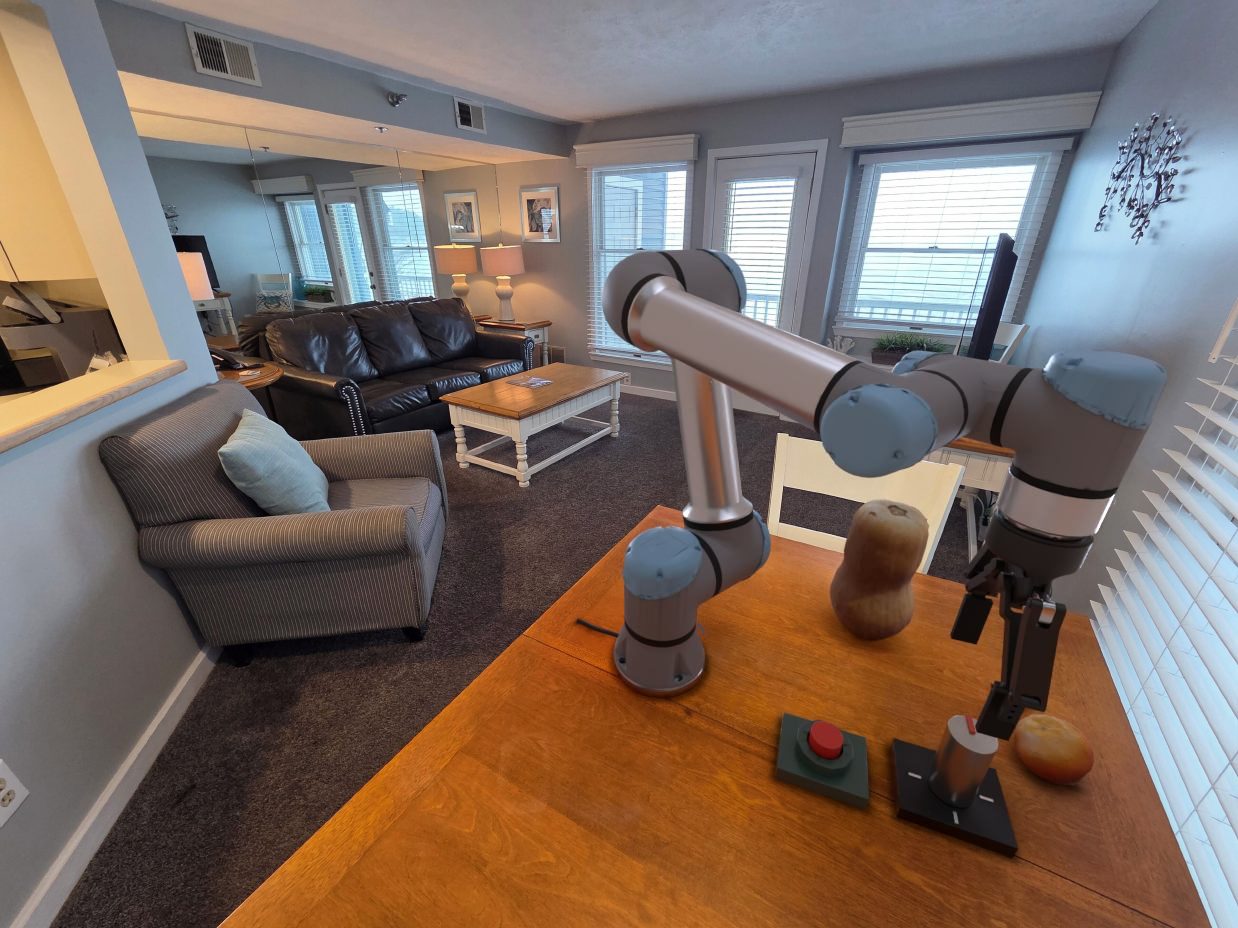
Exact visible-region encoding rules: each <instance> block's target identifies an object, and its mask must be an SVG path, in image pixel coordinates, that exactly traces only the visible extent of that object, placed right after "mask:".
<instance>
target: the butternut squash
mask: <svg viewBox="0 0 1238 928" xmlns="http://www.w3.org/2000/svg"><path fill="white" fill-rule="evenodd" d="M929 528H930V524H929V523H928V520H927V517H926V516H925V515H924V514H923V513H922V511H921V510H920V509H919V508H916V507H915V506H913V505H909V504H908V503H907V504H906V503H903V502H900V501H894V500H890V499H879V498H877V499H872V500H870V501H866V502H865V503H864V504H862V505H861V506H860V507H859V508H858V509H857V510H856V511H855V512H854V514H853V518H852V523H851V525H850V528H849V531H848V534H847V537H846V540H845V543H844V547H843V560H842V561H841V563H840V565H839V566H838V567H837V568H836V571H835V573H834V575H833V578H832V580H831V583H830V586H829V597H830V598H829V599H830V602H831V606H832V609H833V612H834V614H835V616H836V617H837V619H838V621H839V622H840V624H841V625H842V626H843V627H844V628H845V629H846V630H847V631H848V632H849V633H850V634H852V635H853V636H854V637H856V638H858V639H860V640H861V641H867V642H874V641H880V640H886V639H887V638H891V637H893V636H896V635H898V634H900V633H901V632H902V631H903V630H904V629H905V628H906V627H907V626H909V624H910V623H911V622H912V619H913V616H914V612H915V597H914V592H913V587H912V578H913V577H914V575H915V574H916V573H917V571H918V569H919V568H920V566H921V564H922V561H923V558H924V555H925V552H926V550H927V546H928V540H929V536H930V535H929V534H930V533H929V532H930V531H929Z"/></svg>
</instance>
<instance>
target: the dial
mask: <svg viewBox="0 0 1238 928" xmlns="http://www.w3.org/2000/svg"><path fill="white" fill-rule="evenodd" d="M977 720H978V719H976V718H974V717H973V716H972V715H970V714H966V715H953V716H951V717H950V718H949V719H948V721H947V723H946V726H945V728H944V730H943V731H944V732H943V734H942V737H941V739H940V742H939V744H938V746H937V748H936V751H937V752H936V754H935V757H934V759H933V762H932V764H931V767H930V769H929V772H928V775H927V780H928V784H929V786H930V788H931V790H932V791H933V792H934V793H935V795H936V796H937V797H938V798H940V799H941V800H942V801H944V802H945V803H947V804H949V805H951V806H954V807H958V808H965V807H968V806H970V805H971V804H972V803H973V800H974V798H975V796H976V794H977V792H978V790H979V788H980V785H981V783H982V781H983V779H984V777H985V775H986V773H987V770H988V768H989V767H990V766H991V764H992V762H993V760H994V758H995V755H996V753H997V751H998V749H999V741H998V738H995V737H991V736H988V735H984V734H981V733H977V732H976V728H975V725H976V723H977Z"/></svg>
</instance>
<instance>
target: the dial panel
mask: <svg viewBox="0 0 1238 928" xmlns="http://www.w3.org/2000/svg"><path fill="white" fill-rule="evenodd" d="M891 740H892V741H891V744H890V747H889V749H890V760H891V771H892V782H893V793H894V805H895V816H896V818H897V819H900V820H903V821H906V822H908V823H910V824H913V825H917V826H919V827H922V828H926V829H928V830H931V831H934V832H937V833H939V834H943V835H945V836H948V837H951V838H953V839H957V840H959V841H962V842H965V843H968V844H969V845H970V844H971V845H973V846H975V847H980V848H982V849H985V850H987V851H990V852H994V853H996V854H999V855H1002V856H1005V857H1007V858H1010V859H1014V857H1015V856H1016V854H1017V851H1018V850H1019V846H1018V843H1017V840H1016V836H1015V832H1014V829H1013V825H1012V822H1011V818H1010V815H1009V811H1008V807H1007V804H1006V800H1005V796H1004V793H1003V789H1002V786H1001V782H1000V779H999V775H998V772H997V769H996V768H994V767H990V766H989V768H988V770H987V773H986V775H985V777H984V779H983V781H982V783H981V785H980V788H979V790H978V792H977V794H976V796H975V798H974V800H973V803H972V804H971V805H970V806H968V807H965V808H958V807H954V806H951V805H949V804H947V803H945V802H944V801H942V800H941V799H940V798H938V797H937V796H936V795H935V793H934V792H933V791H932V790H931V788H930V786H929V784H928V780H927V775H928V772H929V769H930V767H931V764H932V762H933V759H934V757H935V754H936V752H937V750H934V749H932V748H928V747H926V746H922V745H919V744H915V743H912V742H908V741H905V740H902V739H898V738H895V737H893V738H892V739H891Z"/></svg>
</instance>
